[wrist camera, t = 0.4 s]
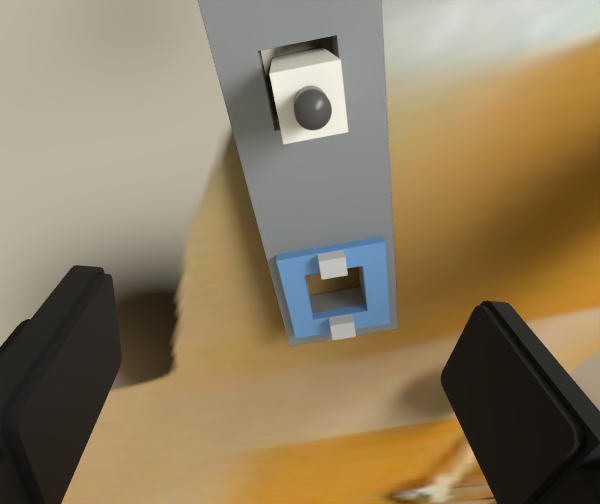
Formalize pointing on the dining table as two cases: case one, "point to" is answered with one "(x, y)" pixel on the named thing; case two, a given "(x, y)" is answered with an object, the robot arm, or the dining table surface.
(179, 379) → the dining table surface
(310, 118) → the cord plug
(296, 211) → the board
